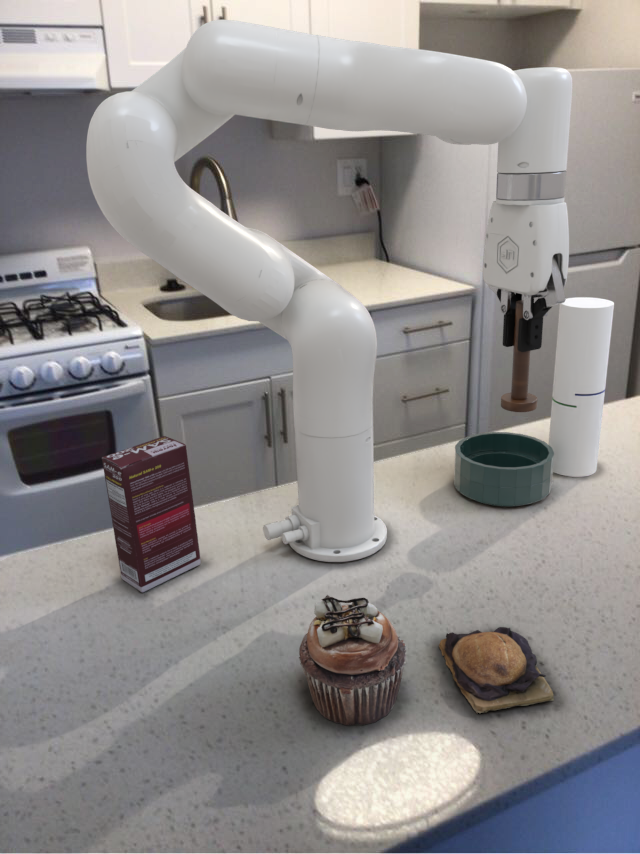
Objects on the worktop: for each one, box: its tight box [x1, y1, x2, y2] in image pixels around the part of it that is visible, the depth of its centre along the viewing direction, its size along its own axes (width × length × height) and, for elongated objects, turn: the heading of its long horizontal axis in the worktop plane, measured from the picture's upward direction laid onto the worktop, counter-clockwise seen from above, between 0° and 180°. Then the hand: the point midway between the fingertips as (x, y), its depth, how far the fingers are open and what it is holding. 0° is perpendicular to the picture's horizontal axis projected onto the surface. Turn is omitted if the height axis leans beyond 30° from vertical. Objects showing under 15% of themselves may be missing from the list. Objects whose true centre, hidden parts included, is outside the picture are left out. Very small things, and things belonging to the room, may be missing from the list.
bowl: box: [453, 431, 554, 508], centre depth 107 cm, size 13×13×6 cm
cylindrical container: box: [548, 296, 615, 478], centre depth 109 cm, size 7×7×25 cm
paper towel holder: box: [500, 300, 539, 413], centre depth 92 cm, size 4×4×13 cm
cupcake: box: [298, 594, 407, 726], centre depth 68 cm, size 10×10×10 cm
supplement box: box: [101, 435, 202, 593], centre depth 87 cm, size 9×5×16 cm, turn 134°
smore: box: [438, 626, 555, 714], centre depth 71 cm, size 11×8×4 cm
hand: (521, 346), depth 92 cm, fingers closed on paper towel holder, 2 cm apart
